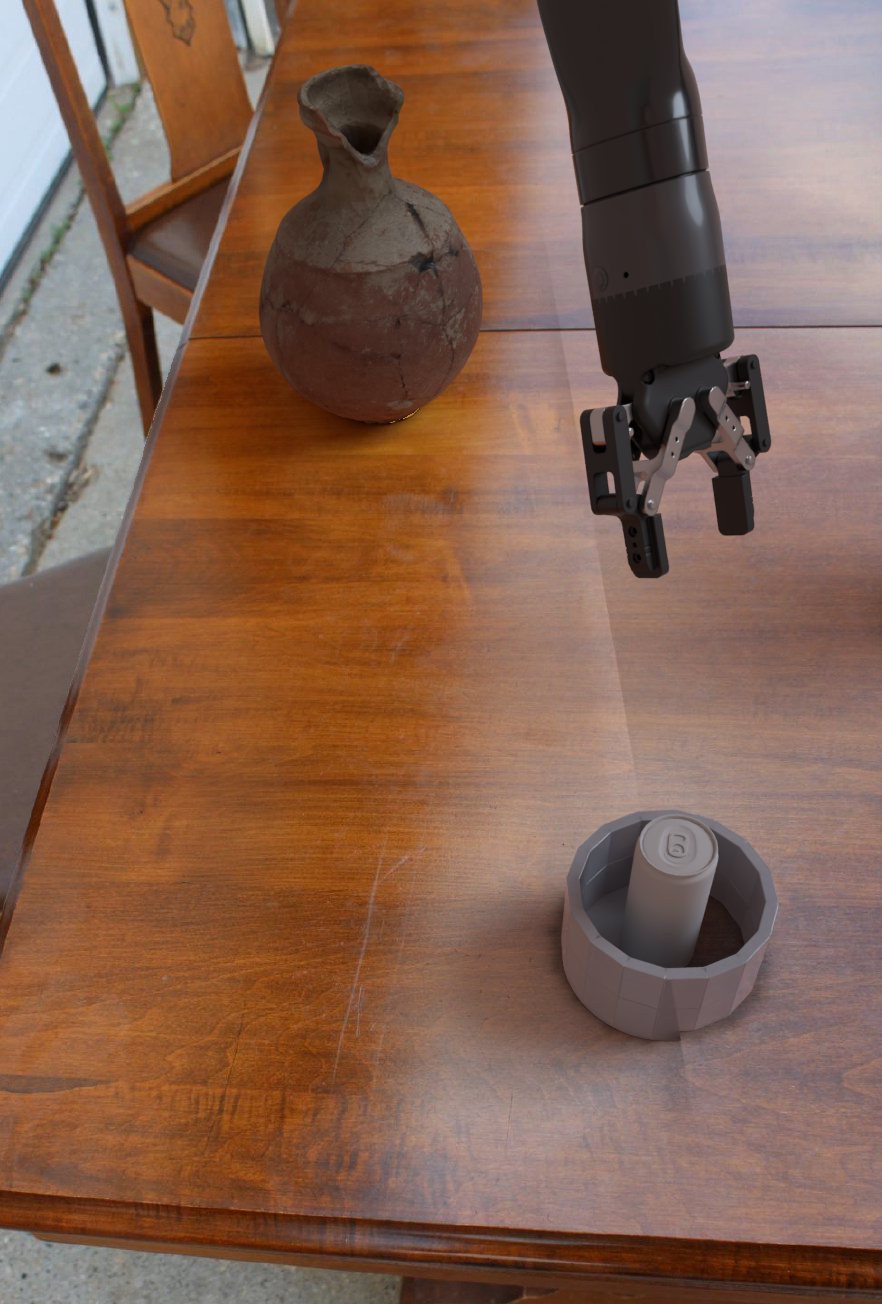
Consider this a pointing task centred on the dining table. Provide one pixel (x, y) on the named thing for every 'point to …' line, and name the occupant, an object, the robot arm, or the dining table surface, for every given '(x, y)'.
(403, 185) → the jug
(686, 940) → the beverage can
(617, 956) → the pot
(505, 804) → the dining table surface
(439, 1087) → the dining table surface
